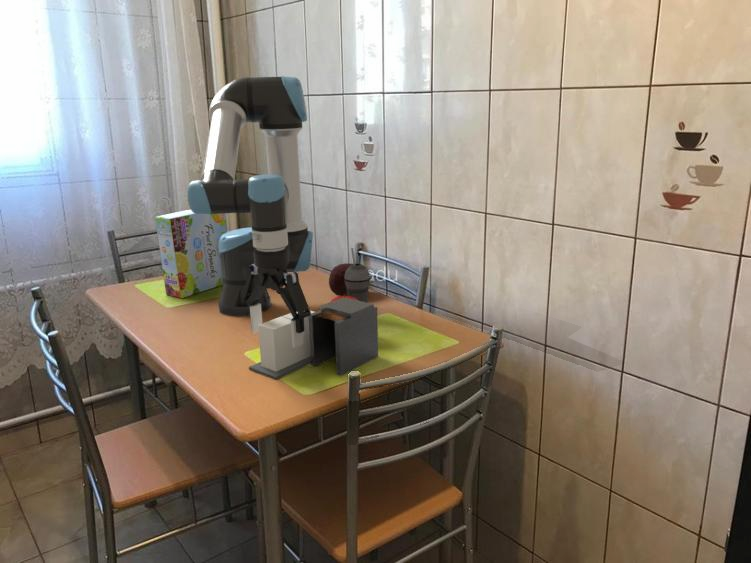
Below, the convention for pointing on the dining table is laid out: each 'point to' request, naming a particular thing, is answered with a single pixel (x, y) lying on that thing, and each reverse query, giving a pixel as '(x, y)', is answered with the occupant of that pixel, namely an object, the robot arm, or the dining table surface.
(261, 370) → the mat
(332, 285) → the potato
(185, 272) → the snack box
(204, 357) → the dining table surface
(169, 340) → the dining table surface
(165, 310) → the dining table surface
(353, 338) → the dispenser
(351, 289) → the beverage cup
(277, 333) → the white rectangular block
